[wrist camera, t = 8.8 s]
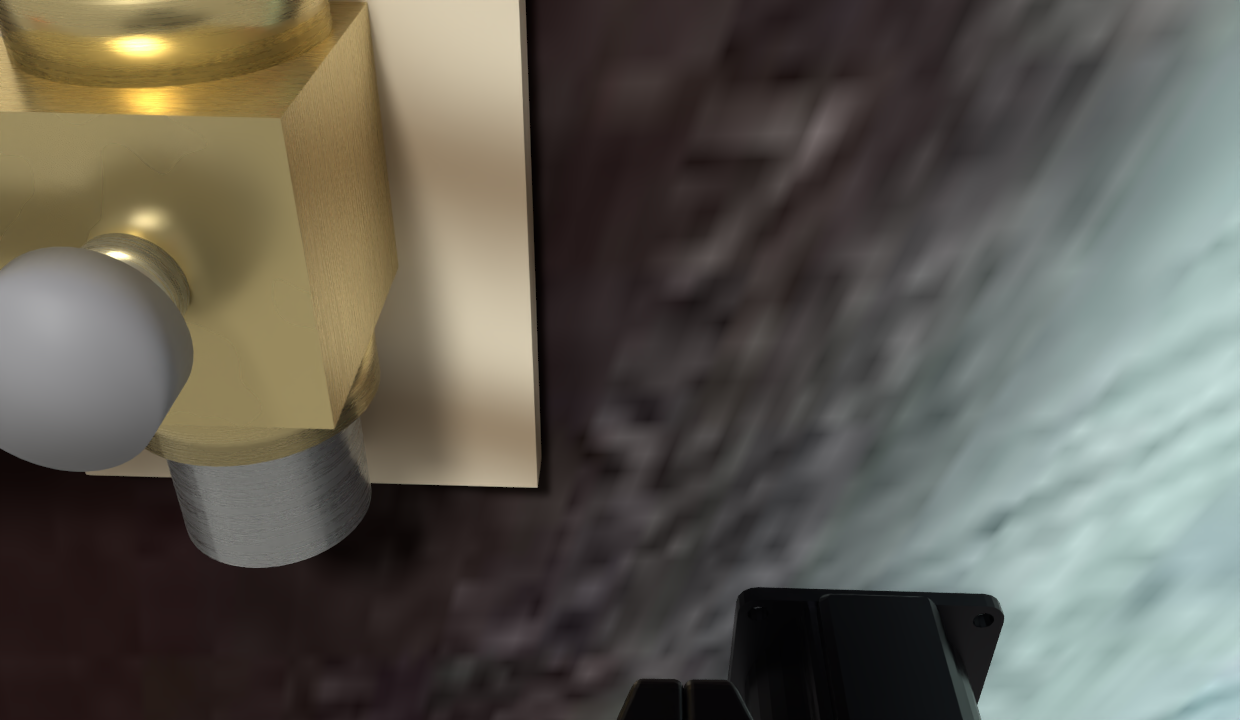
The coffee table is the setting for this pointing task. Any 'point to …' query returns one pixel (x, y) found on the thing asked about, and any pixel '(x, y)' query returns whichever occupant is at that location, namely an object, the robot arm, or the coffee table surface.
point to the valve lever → (85, 359)
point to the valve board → (451, 252)
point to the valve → (222, 232)
